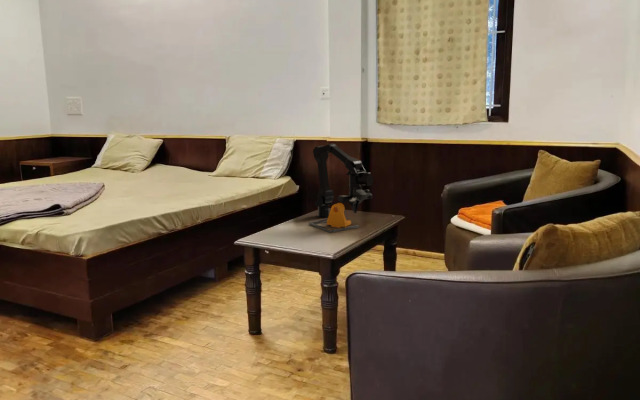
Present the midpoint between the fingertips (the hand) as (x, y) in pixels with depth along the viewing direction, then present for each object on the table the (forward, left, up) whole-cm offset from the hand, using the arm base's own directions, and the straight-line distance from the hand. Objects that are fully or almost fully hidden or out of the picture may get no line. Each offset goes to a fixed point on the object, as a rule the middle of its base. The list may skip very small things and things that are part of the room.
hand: (355, 213), depth 271 cm
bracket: (+1, -11, -5) cm, 12 cm away
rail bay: (0, -13, -5) cm, 14 cm away
